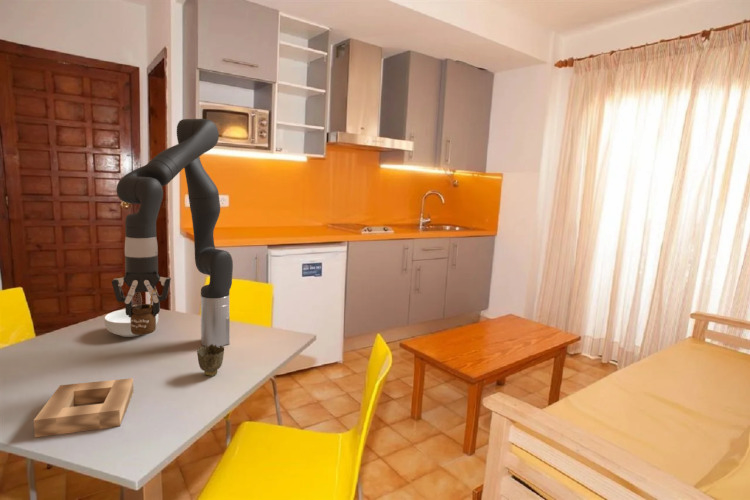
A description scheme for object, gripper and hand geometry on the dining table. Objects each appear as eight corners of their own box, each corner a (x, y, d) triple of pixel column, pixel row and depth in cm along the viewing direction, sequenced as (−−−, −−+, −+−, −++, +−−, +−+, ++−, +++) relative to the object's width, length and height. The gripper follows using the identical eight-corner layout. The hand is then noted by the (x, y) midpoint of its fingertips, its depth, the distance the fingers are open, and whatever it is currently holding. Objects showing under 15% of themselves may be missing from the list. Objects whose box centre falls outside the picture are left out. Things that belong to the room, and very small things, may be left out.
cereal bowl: (142, 343, 141) (141, 323, 140) (93, 340, 141) (92, 320, 140) (167, 326, 158) (167, 308, 157) (124, 324, 158) (123, 306, 157)
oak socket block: (133, 392, 110) (133, 378, 109) (120, 426, 95) (119, 410, 95) (61, 400, 104) (60, 385, 104) (34, 437, 90) (33, 420, 89)
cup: (229, 372, 124) (229, 346, 123) (212, 382, 118) (212, 355, 116) (209, 367, 127) (209, 342, 126) (191, 377, 120) (191, 351, 119)
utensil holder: (139, 327, 115) (138, 285, 113) (161, 328, 115) (160, 286, 113) (125, 334, 109) (124, 290, 107) (149, 336, 109) (148, 292, 107)
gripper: (173, 251, 115) (174, 310, 117) (113, 251, 110) (115, 312, 112) (170, 256, 108) (171, 318, 110) (106, 256, 103) (108, 321, 105)
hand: (143, 315), depth 111 cm, fingers closed on utensil holder, 5 cm apart
